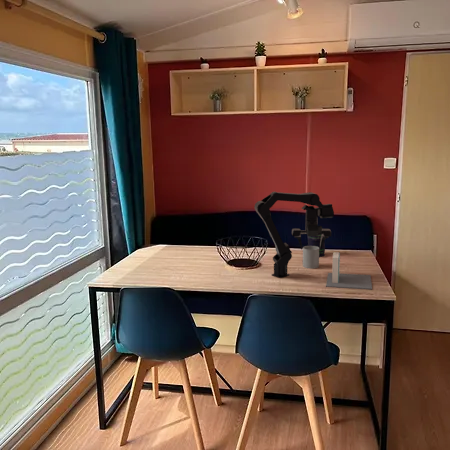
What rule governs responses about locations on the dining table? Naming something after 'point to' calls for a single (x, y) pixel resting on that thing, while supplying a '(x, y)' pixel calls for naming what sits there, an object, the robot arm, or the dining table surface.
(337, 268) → the cream flat block
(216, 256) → the dining table surface
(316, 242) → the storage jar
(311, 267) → the cup
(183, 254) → the dining table surface
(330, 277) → the mat
